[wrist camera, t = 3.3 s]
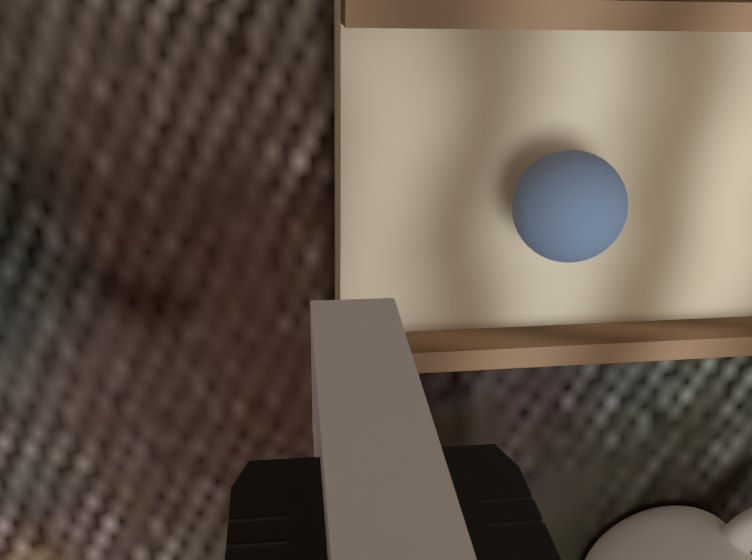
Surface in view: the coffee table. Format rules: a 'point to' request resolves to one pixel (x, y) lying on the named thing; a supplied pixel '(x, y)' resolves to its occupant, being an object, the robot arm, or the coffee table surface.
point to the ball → (569, 206)
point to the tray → (523, 148)
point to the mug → (676, 536)
